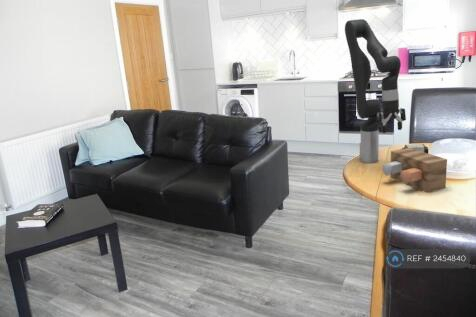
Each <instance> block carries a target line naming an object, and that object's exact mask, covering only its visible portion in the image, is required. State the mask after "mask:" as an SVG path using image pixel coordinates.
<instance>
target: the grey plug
mask: <svg viewBox="0 0 476 317" xmlns="http://www.w3.org/2000/svg"><path fill="white" fill-rule="evenodd" d="M382 171H383V173H384V175H385V176H391V174H394V173H398V172H402V171H403V163H402V162H399V161H395V162H391V161H390V162H384V163H383V164H382Z"/></svg>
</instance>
